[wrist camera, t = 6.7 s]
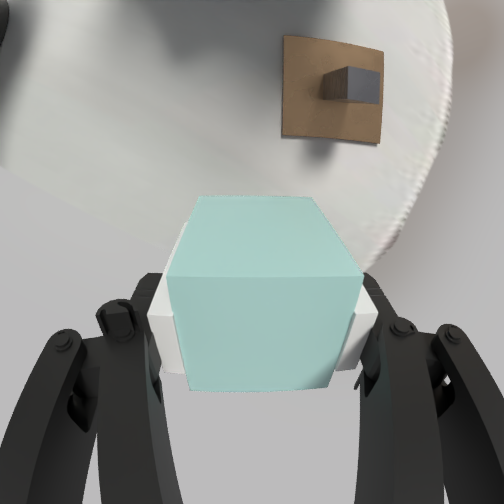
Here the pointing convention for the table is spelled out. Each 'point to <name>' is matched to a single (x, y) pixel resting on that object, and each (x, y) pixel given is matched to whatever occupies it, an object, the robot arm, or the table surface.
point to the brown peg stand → (332, 89)
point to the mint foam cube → (261, 294)
